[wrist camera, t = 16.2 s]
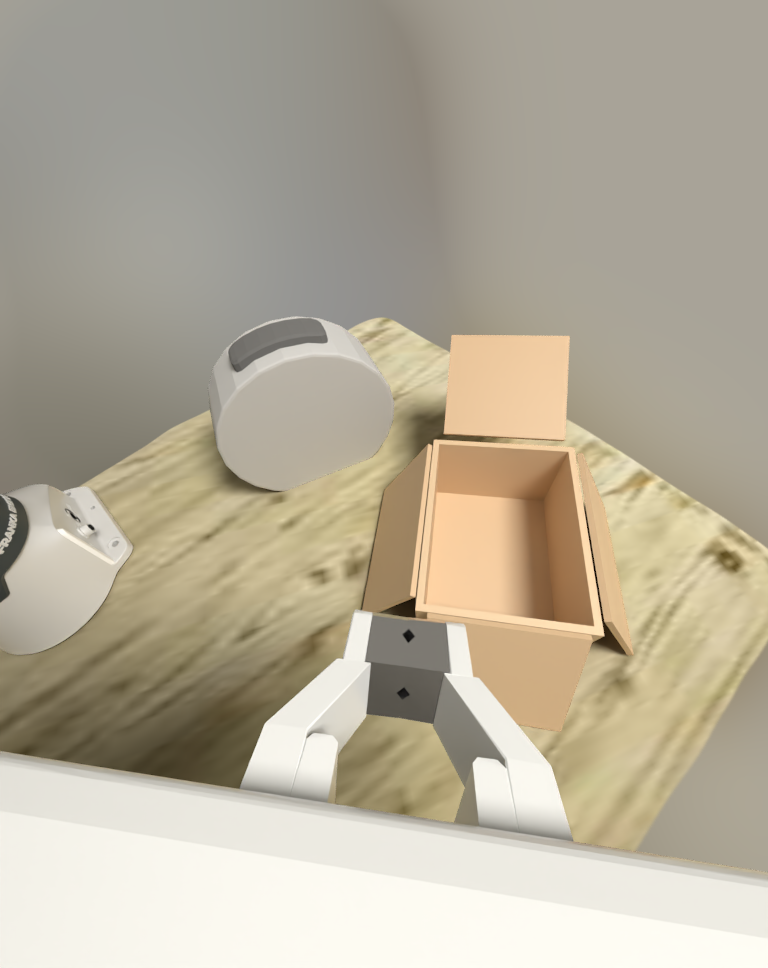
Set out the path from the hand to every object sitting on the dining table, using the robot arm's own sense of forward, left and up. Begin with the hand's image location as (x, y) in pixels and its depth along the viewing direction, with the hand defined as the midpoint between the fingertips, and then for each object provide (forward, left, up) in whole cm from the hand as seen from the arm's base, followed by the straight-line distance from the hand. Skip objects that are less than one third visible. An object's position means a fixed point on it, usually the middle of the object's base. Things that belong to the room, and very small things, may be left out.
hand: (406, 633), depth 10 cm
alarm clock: (-32, +8, -30) cm, 44 cm away
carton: (-4, +13, -29) cm, 32 cm away
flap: (-13, +21, -19) cm, 31 cm away
